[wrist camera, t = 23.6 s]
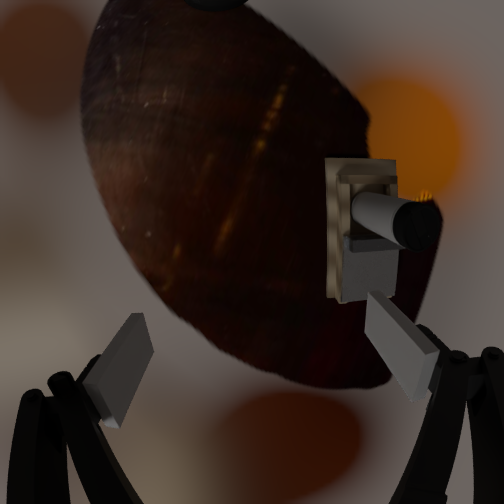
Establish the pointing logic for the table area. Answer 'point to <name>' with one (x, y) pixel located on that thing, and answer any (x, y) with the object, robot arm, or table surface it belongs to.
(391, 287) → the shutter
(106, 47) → the table surface
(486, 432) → the robot arm
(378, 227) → the travel mug
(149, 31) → the table surface
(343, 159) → the holder
